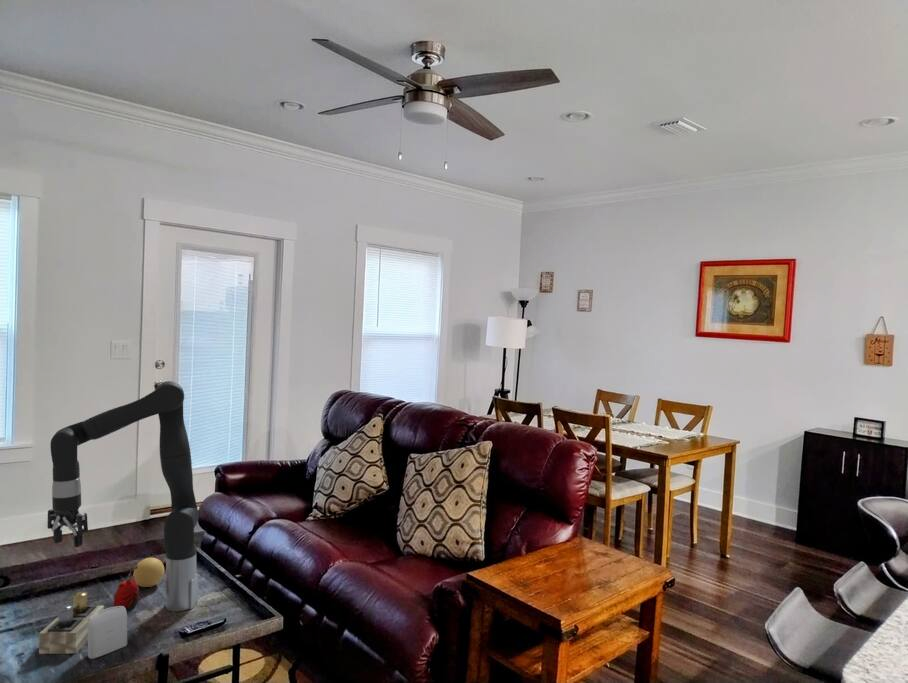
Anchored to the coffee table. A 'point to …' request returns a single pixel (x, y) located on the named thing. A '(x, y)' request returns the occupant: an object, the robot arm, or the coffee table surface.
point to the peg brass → (80, 602)
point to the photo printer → (107, 631)
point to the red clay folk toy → (127, 593)
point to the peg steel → (65, 616)
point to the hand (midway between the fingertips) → (67, 544)
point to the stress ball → (148, 572)
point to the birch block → (67, 634)
